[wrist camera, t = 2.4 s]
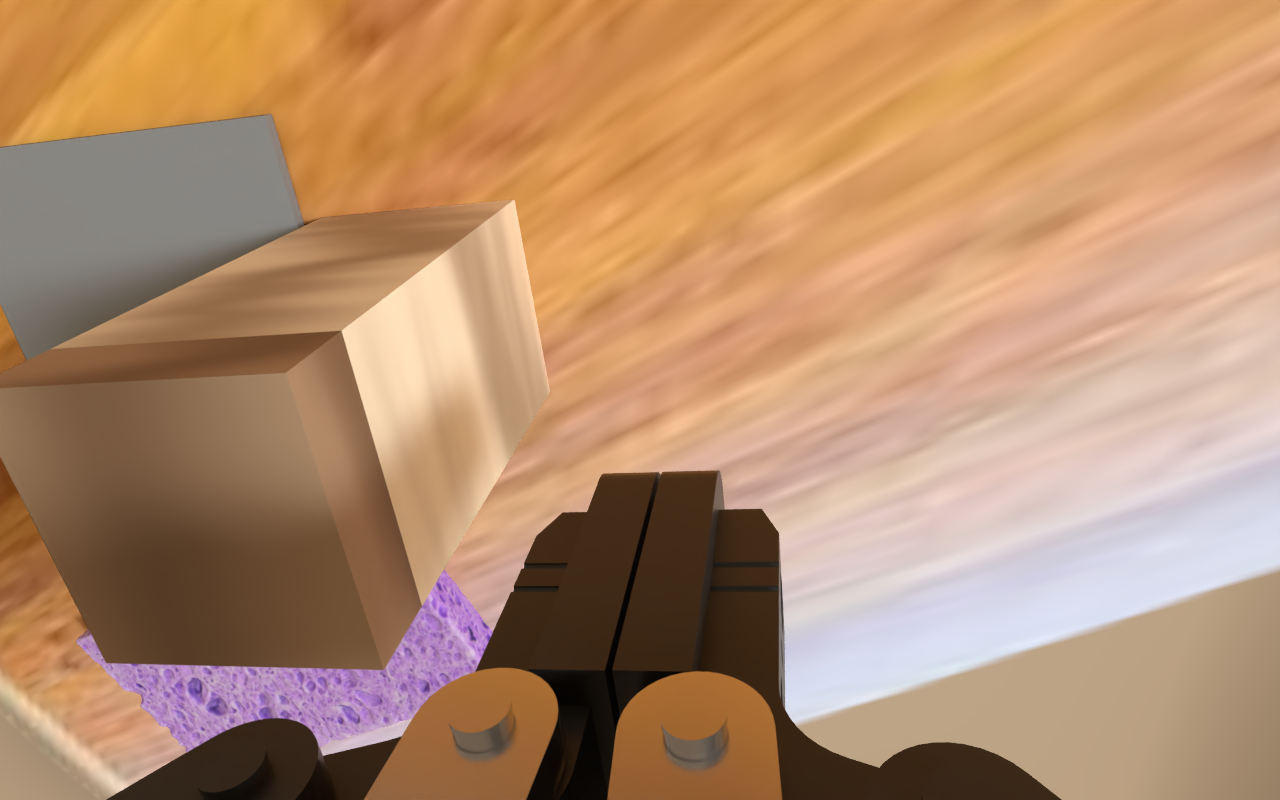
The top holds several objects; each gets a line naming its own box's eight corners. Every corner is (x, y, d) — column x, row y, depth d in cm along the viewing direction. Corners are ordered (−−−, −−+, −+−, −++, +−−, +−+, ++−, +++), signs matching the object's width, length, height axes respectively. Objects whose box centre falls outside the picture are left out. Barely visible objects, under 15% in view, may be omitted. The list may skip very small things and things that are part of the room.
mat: (271, 114, 20) (264, 115, 19) (379, 479, 24) (374, 485, 23) (-59, 154, 21) (-70, 156, 21) (95, 486, 26) (88, 492, 25)
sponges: (113, 601, 28) (71, 640, 27) (396, 478, 24) (368, 514, 23) (241, 743, 31) (210, 786, 29) (521, 651, 27) (503, 695, 25)
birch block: (513, 199, 20) (286, 372, 11) (550, 391, 22) (384, 670, 13) (321, 217, 20) (-34, 390, 12) (373, 399, 23) (106, 663, 14)
